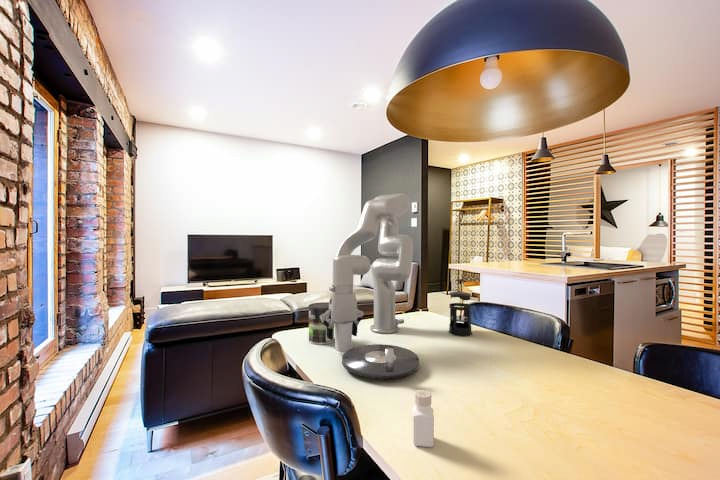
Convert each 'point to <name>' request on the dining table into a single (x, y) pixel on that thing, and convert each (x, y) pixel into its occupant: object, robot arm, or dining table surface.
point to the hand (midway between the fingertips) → (342, 336)
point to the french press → (455, 327)
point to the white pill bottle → (423, 420)
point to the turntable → (380, 361)
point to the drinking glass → (343, 336)
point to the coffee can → (318, 324)
